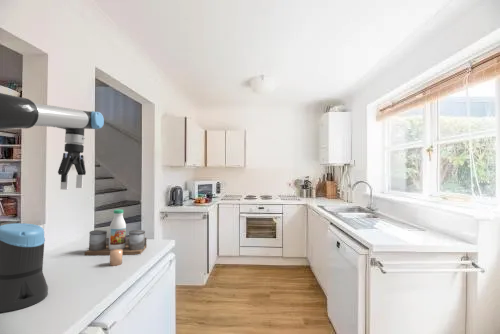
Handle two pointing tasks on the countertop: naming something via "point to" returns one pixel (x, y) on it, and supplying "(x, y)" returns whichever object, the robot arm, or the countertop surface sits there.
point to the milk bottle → (117, 231)
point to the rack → (101, 243)
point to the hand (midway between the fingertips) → (72, 188)
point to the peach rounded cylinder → (116, 257)
